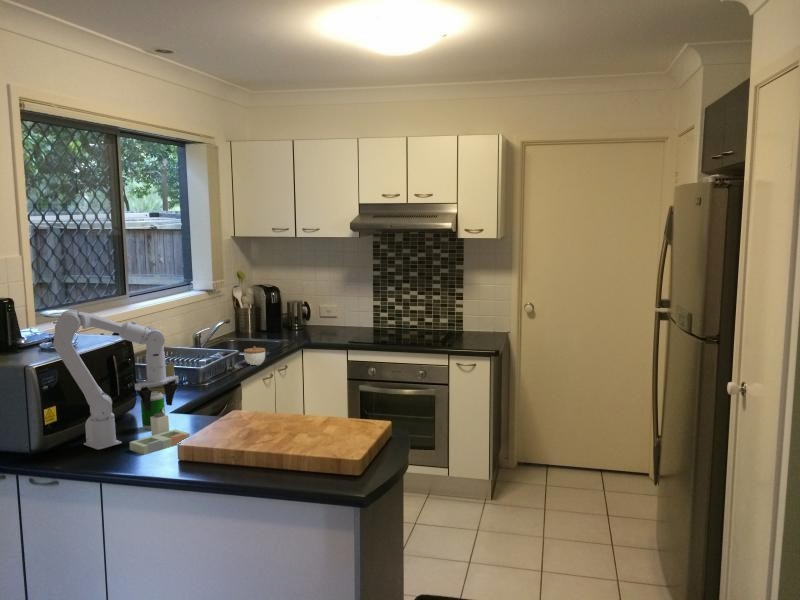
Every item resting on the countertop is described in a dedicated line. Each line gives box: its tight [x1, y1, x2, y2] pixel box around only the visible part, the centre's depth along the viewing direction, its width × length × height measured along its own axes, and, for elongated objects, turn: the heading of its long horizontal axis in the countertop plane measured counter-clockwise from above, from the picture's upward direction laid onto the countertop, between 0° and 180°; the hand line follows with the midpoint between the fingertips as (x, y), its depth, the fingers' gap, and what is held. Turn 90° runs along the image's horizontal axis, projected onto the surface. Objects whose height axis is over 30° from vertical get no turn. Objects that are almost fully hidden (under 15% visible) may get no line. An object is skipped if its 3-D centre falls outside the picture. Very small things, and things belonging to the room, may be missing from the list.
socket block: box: [129, 429, 191, 455], centre depth 210 cm, size 8×16×3 cm, turn 141°
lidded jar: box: [243, 345, 266, 366], centre depth 339 cm, size 11×11×9 cm
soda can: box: [140, 391, 166, 431], centre depth 230 cm, size 8×8×12 cm
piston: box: [145, 361, 176, 395], centre depth 284 cm, size 11×12×11 cm
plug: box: [150, 413, 170, 436], centre depth 219 cm, size 4×4×8 cm
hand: (158, 407), depth 218 cm, fingers open, 7 cm apart
